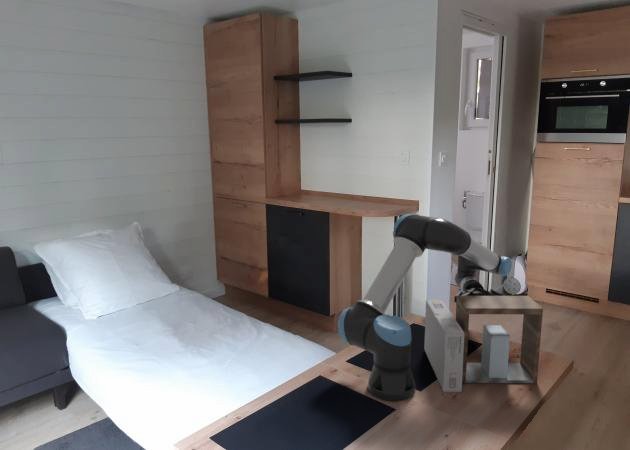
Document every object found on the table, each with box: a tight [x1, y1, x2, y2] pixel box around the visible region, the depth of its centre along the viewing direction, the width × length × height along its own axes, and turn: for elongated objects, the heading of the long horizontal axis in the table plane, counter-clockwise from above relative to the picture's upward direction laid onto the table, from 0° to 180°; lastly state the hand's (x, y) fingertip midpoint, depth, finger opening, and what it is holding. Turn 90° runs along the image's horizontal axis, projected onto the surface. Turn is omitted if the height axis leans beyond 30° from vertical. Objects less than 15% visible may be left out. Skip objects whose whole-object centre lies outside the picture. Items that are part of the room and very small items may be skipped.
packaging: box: [423, 299, 464, 393], centre depth 170 cm, size 30×6×20 cm, turn 179°
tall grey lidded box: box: [480, 324, 511, 378], centre depth 166 cm, size 6×9×15 cm, turn 177°
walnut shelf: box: [455, 295, 544, 384], centre depth 165 cm, size 24×12×26 cm, turn 88°
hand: (487, 306), depth 178 cm, fingers open, 13 cm apart
